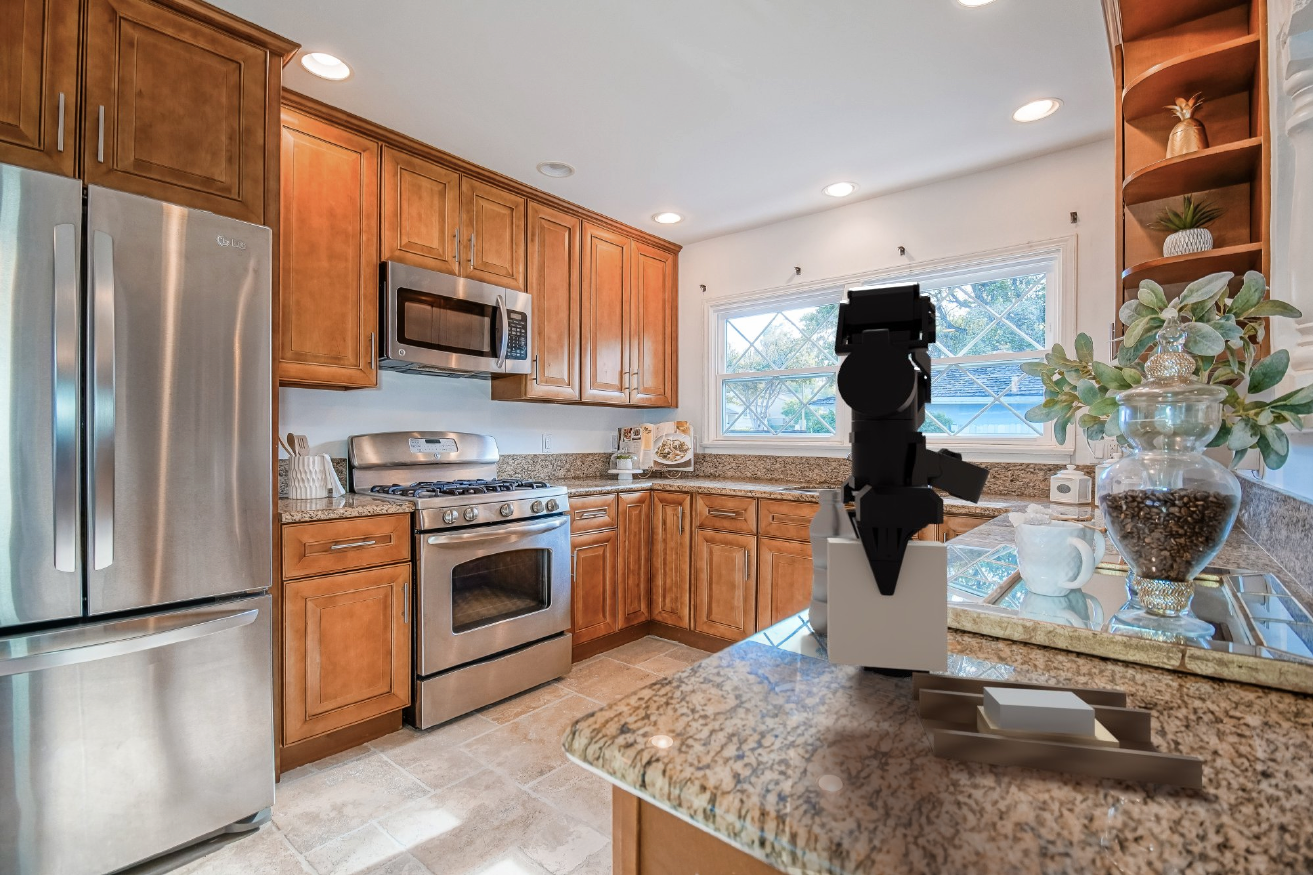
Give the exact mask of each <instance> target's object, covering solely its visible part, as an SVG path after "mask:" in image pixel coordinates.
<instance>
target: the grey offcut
mask: <svg viewBox="0 0 1313 875" xmlns="http://www.w3.org/2000/svg"><path fill="white" fill-rule="evenodd" d="M984 711H985V712H986V713H987V714H988V716H989V717H990V718H991V719H992V720H993V721H994V722H995V724H996V725H997V726H998V727H999V728H1000V729H1007V730H1022V731H1037V732H1053V733H1068V734H1084V735H1095V710H1094V709H1093V708H1092V707H1090V706H1089V705H1088V704H1086V703H1085V702H1084V701H1083V700H1081V699H1080V698H1079V697H1077V696H1076V695H1075V694H1073V693H1072V692H1065V691H1047V690H1030V689H1012V688H994V687H984Z"/></svg>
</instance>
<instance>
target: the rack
mask: <svg viewBox="0 0 1313 875" xmlns="http://www.w3.org/2000/svg"><path fill="white" fill-rule="evenodd" d="M984 687H994V688H1012V689H1030V690H1047V691H1065V692H1072V693H1073V694H1075V695H1076V696H1077V697H1079V698H1080V699H1081V700H1083V701H1084V702H1085V703H1086V704H1088V705H1089V706H1090V707H1092V708H1093V709H1094V710H1095V719H1096V720H1097V721H1098V722H1099V723H1100V724H1101V725H1102V726H1103V727H1104V728H1105V729H1106V730H1107V731H1108V732H1109V733H1110V734H1111V735H1112V736H1114V737H1115V738H1116V739H1117V740H1118V741H1119V748H1110V747H1101V746H1091V745H1082V744H1073V743H1064V742H1054V741H1045V740H1036V739H1027V738H1017V737H1008V736H999V735H990V734H981V733H979V731H978V729H977V706H984ZM909 692H910V695H911V697H912V699H913V703H914V705H915V708H916V711H917V714H918V716H919V719H920V722H921V723H922V726H923V729H924V732H925V735H926V737H927V739H928V742H929V745H930V747H931V750H932V753H933V756H934V758H937V759H947V760H952V761H954V760H955V761H961V762H963V761H964V762H971V763H977V764H978V763H980V764H986V765H987V764H988V765H996V766H1004V767H1013V768H1022V769H1029V770H1036V771H1037V770H1039V771H1046V772H1054V773H1055V772H1056V773H1062V774H1071V775H1079V776H1088V777H1096V778H1106V779H1111V780H1112V779H1114V780H1122V781H1129V782H1130V781H1131V782H1137V783H1147V784H1154V785H1163V786H1170V787H1172V786H1173V787H1179V788H1188V789H1189V788H1190V789H1197V790H1203V760H1202V759H1200V758H1199V757H1198V756H1192V755H1181V754H1174V753H1163V752H1162V751H1161V750H1160V749H1159V748H1158V747H1157V746H1156V745H1154V744H1153V743H1152V726H1151V724H1152V720H1151V719H1152V712H1150V711H1149V710H1148V709H1140V708H1129V707H1127V693H1126V692H1125V691H1124V690H1119V689H1118V690H1117V689H1107V688H1098V687H1096V688H1095V687H1084V686H1073V685H1061V684H1052V683H1051V684H1050V683H1039V682H1027V681H1017V680H1007V679H1006V680H1004V679H995V678H984V677H972V676H971V677H970V676H959V675H949V674H947V675H946V674H940V673H939V674H938V673H937V674H936V673H930V674H927V673H916V672H913V677H912V691H909Z"/></svg>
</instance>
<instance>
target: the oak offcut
mask: <svg viewBox="0 0 1313 875" xmlns="http://www.w3.org/2000/svg"><path fill="white" fill-rule="evenodd" d="M977 729H978V731H979V733H981V734H990V735H999V736H1008V737H1017V738H1027V739H1036V740H1045V741H1054V742H1064V743H1073V744H1082V745H1091V746H1101V747H1110V748H1119V741H1118V740H1117V739H1116V738H1115V737H1114V736H1112V735H1111V734H1110V733H1109V732H1108V731H1107V730H1106V729H1105V728H1104V727H1103V726H1102V725H1101V724H1100V723H1099V722H1098V721H1097V720H1096V719H1095V735H1084V734H1068V733H1053V732H1037V731H1022V730H1007V729H1000V728H999V727H998V726H997V725H996V724H995V722H994V721H993V720H992V719H991V718H990V717H989V716H988V714H987V713H986V712H985V711H984V706H977Z"/></svg>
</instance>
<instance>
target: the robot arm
mask: <svg viewBox="0 0 1313 875" xmlns="http://www.w3.org/2000/svg"><path fill="white" fill-rule="evenodd" d="M920 289H921V288H920V283H919V282H918V281H914V282H903V283H892V284H882V285H872V286H863V287H861V286H860V287H852V288H849V289H848V290H847V293H846V296H847V300H840V301H839V304H838V314H837V324H836V330H835V331H836V334H835V340H834V341H835V342H834V354H835V355H836V357H845V356H846V357H845V358H844V360H843V362H842V363H840V364H841V365H840V368H839V370H838V372H837V375H836V377H837V378H836V379H837V380H836V382H837V383H836V384H837V388H838V389H837V390H838V393H839V394H840V397H841V399H842V400H843V401H844V402H845V404H846V405H847V406H848V407H849V408H851V414H850V415H851V420H850V421H851V425H850V427H851V429H850V430H851V431H850V432H849V433H848V444H851V449H850V450H851V455H850V456H851V460H850V462H851V463H850V464H851V466H850V467H851V470H850V471H851V472H850V473H851V474H849V475H848V477H847V478H846V479H845V480H844V481H843V482H842V483H841V484H840V490H841V502H842V503H843V504H844V505H849V504H850V503H854V509H853V508H845V509H846V514H847V516H848V518H849V521H850V523H851V526H852V528H853V531H854V533H855V538H856V539H860V540H861V543H862V546H863V548H864V551H865V554H866V557H867V559H868V562H869V565H870V568H871V570H872V573H873V576H874V578H875V581H876V584H877V586H878V589H879V592H880V594H881V595H884V596H892V595H894V592H895V588H896V584H897V581H898V577H899V573H900V569H901V565H902V562H903V558H904V554H905V551H906V547H907V544H908V541H909V540H913V541H915V540H914V539H913V537H914V536H915V535H916V534H918V533H919V532H920V531H922V530H923V529H926V528H928V526H929V525H944V521H945V520H944V516H945V515H944V509H945V508H944V504H945V503H944V501H945V500H944V498H942V497H941V496H940V495H939V494H938V493H937V492H936V491H935V490H934V489H938V490H940V491H943V492H945V493H948V495H949V496H951V497H954V498H955V499H960V500H962V501H965V502H970V503H973V504H975V505H978V503H979V500H980V498H981V495H982V492H983V491H984V488H985V485H986V482H987V481H988V478H989V475H990V472H991V471H990V470H989V469H987V468H984V467H982V466H979V465H976V464H973V463H970V462H967V461H965V460H963V455H962V453H961V452H955V451H952V450H949V448H941V449H939V450H938V451H934V450H932V449H929V448H927V436H926V434H923V431H919V429H920V428H921V427H922V426H923V425H924V423H925V422H926V404H927V405H928V404H930V405H931V404H932V358H931V356H930V354H929V353H928V352H929V345H930V344H936V343H937V322H936V321H937V319H936V318H937V315H936V313H937V312H936V311H937V310H936V305H935V304H934V303H932V300H931V296H929V293H921V290H920ZM909 356H910V358H909ZM915 366H916V367H915ZM932 487H933V488H934V489H933V488H932ZM862 669H863V671H865V672H871V673H874V674H876V675H879V676H883V677H888V678H897V679H907V678H908V679H909V678H913V672H916V673H927V674H931V673H930V672H931V671H925V670H911V669H898V668H884V667H870V666H862Z"/></svg>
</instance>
